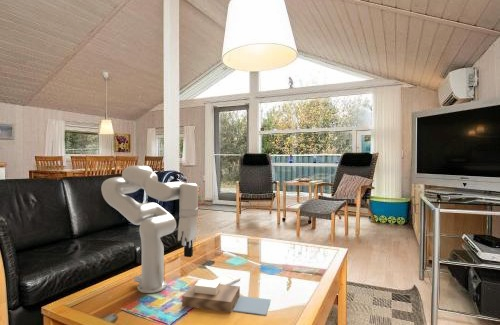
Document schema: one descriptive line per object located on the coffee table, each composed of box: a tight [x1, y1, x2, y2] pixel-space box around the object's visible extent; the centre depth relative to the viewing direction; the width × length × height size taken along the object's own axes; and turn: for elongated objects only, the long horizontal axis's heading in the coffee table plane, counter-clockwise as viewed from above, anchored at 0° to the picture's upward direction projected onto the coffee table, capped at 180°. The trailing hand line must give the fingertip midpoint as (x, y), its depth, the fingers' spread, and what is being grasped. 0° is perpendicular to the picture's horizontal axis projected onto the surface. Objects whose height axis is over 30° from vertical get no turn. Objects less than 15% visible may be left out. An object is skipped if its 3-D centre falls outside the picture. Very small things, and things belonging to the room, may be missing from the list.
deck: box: [181, 281, 241, 313], centre depth 123 cm, size 20×14×4 cm
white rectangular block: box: [195, 278, 220, 295], centre depth 123 cm, size 9×6×3 cm, turn 78°
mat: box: [232, 295, 271, 317], centre depth 119 cm, size 13×12×1 cm
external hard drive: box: [211, 273, 241, 285], centre depth 141 cm, size 2×8×12 cm
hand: (188, 256), depth 125 cm, fingers closed
